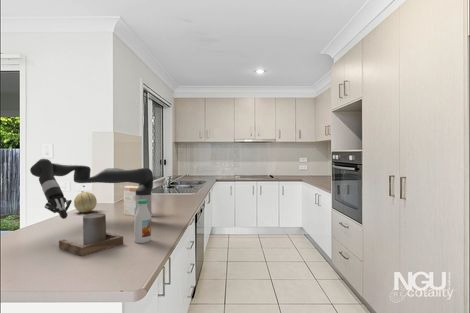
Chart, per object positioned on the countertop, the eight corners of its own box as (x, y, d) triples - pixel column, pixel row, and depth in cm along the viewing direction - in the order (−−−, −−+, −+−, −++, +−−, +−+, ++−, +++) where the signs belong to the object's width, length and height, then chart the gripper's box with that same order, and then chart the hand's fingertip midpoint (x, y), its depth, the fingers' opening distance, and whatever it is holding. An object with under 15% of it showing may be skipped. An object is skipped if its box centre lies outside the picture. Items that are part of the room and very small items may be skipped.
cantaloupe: (90, 214, 205) (90, 192, 204) (69, 214, 205) (69, 192, 205) (100, 210, 219) (100, 190, 219) (80, 210, 220) (80, 189, 219)
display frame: (59, 248, 132) (59, 240, 132) (100, 237, 149) (100, 230, 149) (81, 256, 123) (81, 247, 123) (123, 243, 140) (123, 236, 140)
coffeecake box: (146, 215, 204) (146, 186, 204) (137, 217, 198) (137, 187, 198) (131, 212, 212) (131, 185, 212) (123, 214, 206) (123, 186, 206)
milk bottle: (135, 244, 139) (135, 201, 139) (133, 240, 146) (133, 199, 146) (152, 242, 143) (152, 200, 142) (149, 238, 149) (149, 198, 149)
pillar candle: (106, 240, 145) (105, 209, 145) (106, 246, 136) (105, 213, 136) (83, 243, 141) (83, 211, 141) (82, 249, 132) (81, 215, 132)
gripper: (63, 194, 160) (75, 219, 154) (35, 197, 149) (47, 225, 142) (68, 184, 157) (81, 210, 151) (40, 187, 146) (53, 215, 139)
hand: (64, 217), depth 147 cm, fingers closed
